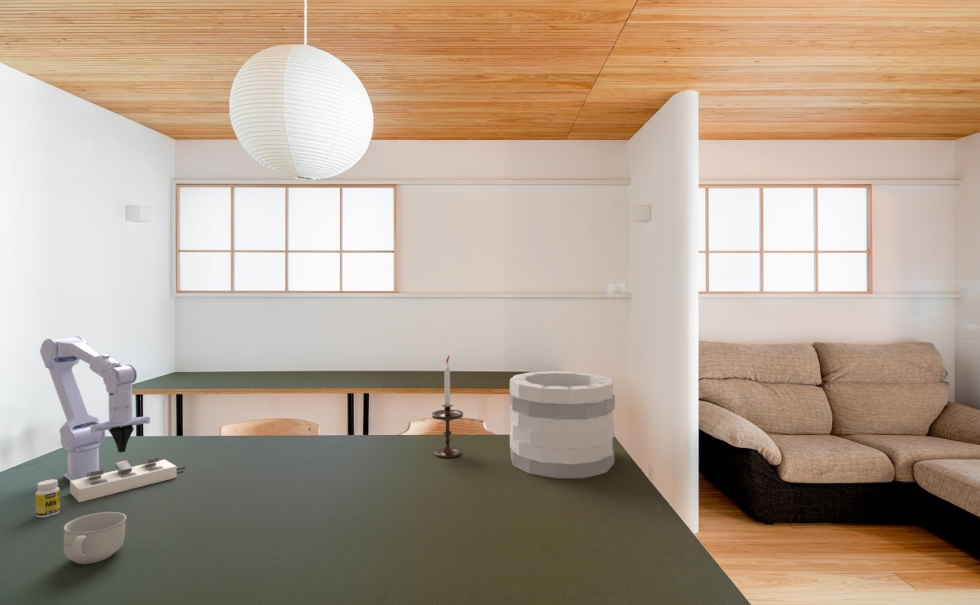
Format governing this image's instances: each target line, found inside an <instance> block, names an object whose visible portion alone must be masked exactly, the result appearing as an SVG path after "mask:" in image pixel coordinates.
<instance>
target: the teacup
mask: <svg viewBox="0 0 980 605" xmlns="http://www.w3.org/2000/svg"><path fill="white" fill-rule="evenodd" d="M126 521H127V515H126V514H125V513H123V512H117V511H103V512H97V513H90V514H86V515H82V516H79V517H77V518H74V519H72V520H70V521H69V522H66V523H65V525H64V526H63V532H64V533H63V551H64V555H65V557H66V559H68V560H70V561H72V562H74V563H75V564H79V565H90V564H96V563H99V562H102V561H104V560H106V559H109V558H111V556H113V555H114V554H115V553H116V552H118V551H119V549H120V548H121V547H122V546H123V544H124V541H125V534H126Z"/></svg>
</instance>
